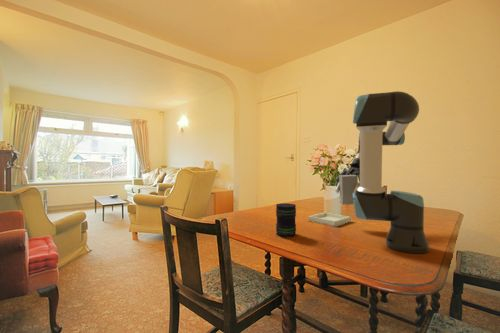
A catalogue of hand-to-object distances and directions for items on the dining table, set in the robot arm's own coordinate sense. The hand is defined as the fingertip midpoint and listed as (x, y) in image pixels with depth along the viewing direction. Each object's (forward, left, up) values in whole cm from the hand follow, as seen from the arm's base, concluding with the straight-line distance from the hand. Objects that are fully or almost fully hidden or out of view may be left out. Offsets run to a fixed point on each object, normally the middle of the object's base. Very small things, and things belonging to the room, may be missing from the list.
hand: (345, 192), depth 129 cm
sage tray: (+9, +15, -20) cm, 26 cm away
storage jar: (-32, +14, -20) cm, 40 cm away
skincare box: (+3, 0, -7) cm, 7 cm away
